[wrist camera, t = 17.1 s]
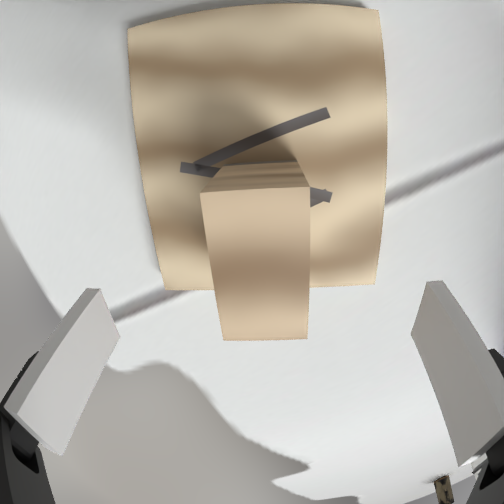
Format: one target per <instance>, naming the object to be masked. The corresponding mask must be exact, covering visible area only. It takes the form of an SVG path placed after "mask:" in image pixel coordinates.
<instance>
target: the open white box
mask: <svg viewBox="0 0 504 504" xmlns="http://www.w3.org/2000/svg"><path fill="white" fill-rule="evenodd" d="M485 459H487V455H486V453H484V454H483V455H482V456H481V457H480V458H479V459H477V460H476V461H474V462H471V465H472V468H473V470H474V469H475V468H476V467H477V466H478V465H479V464H480V463H482V462H483V461H484V460H485ZM480 471H481V469H480V470H478V471H477V472H476V473H474V475H475V478H476V480H477V478H478V476H479V475H478V473H479V472H480Z"/></svg>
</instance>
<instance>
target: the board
mask: <svg viewBox="0 0 504 504" xmlns="http://www.w3.org/2000/svg"><path fill="white" fill-rule="evenodd" d="M127 33H128V58H129V74H130V87H131V98H132V108H133V117H134V126H135V134H136V142H137V149H138V156H139V163H140V169H141V176H142V182H143V187H144V193H145V199H146V204H147V209H148V215H149V220H150V225H151V229H152V234H153V239H154V244H155V248H156V253H157V257H158V261H159V265H160V270H161V274H162V278H163V282H164V286H165V290H214V285H213V279H212V273H211V266H210V260H209V254H208V247H207V241H206V234H205V228H204V221H203V214H202V207H201V199H200V192H201V191H202V190H203V188H204V187H205V186H206V185H207V184H208V183H209V181H210V180H211V179H212V178H213V177H214V176H215V174H216V173H217V172H218V171H219V170H220V169H221V168H222V167H223V165H224V164H233V163H247V162H264V161H285V160H297V161H298V163H299V165H300V167H301V169H302V171H303V173H304V176H305V178H306V180H307V182H308V184H309V186H310V284H309V288H312V287H335V286H354V285H372V284H375V279H376V272H377V265H378V258H379V251H380V243H381V234H382V225H383V214H384V202H385V188H386V169H387V93H386V75H385V62H384V51H383V42H382V33H381V25H380V18H379V12H378V10H374V9H367V8H360V7H352V6H342V5H329V4H309V3H276V4H256V5H243V6H233V7H225V8H217V9H210V10H204V11H198V12H193V13H187V14H182V15H178V16H173V17H169V18H164V19H160V20H156V21H153V22H149V23H145V24H142V25H138V26H135V27H132V28H128V29H127Z"/></svg>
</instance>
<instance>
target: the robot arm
mask: <svg viewBox="0 0 504 504" xmlns="http://www.w3.org/2000/svg"><path fill="white" fill-rule="evenodd" d="M411 336H412V338H413V340H414V342H415V345H416V347H417V349H418V352H419V354H420V356H421V359H422V361H423V364H424V366H425V368H426V371H427V373H428V376H429V378H430V381H431V384H432V386H433V389H434V392H435V394H436V397H437V400H438V403H439V405H440V408H441V411H442V414H443V417H444V420H445V423H446V426H447V429H448V432H449V435H450V439H451V442H452V445H453V449H454V452H455V456H456V459H457V463H458V467H461V466H464V465H467V464H469V463H471V462H474V461H476V460H477V459H479V458H480V457H481V456H482V455H483V454H484V453H486V455H487V459H485V460H484V461H483V462H482V463H480V464H479V465H478V466H477V467H476V468H475V469H474V470H473V472H472V473H473V474H474V473H476V472H477V471H478V470H480V469H481V471H480V472H479V473H478V475H479V476H478V478H477V481H476V483H475V485H474V488H473V490H472V492H471V494H470V497H469V499H468V501H467V503H466V504H504V357H502V356H501V355H500V354H499V353H498V352H497V351H496V350H495V349H491V350H488V349H487V347H486V346H485V344H484V342H483V341H482V339H481V337H480V336H479V334H478V332H477V331H476V329H475V328H474V326H473V325H472V323H471V321H470V320H469V318H468V317H467V315H466V314H465V312H464V311H463V309H462V308H461V306H460V305H459V303H458V302H457V300H456V299H455V298H454V296H453V295H452V293H451V292H450V290H449V289H448V288H447V286H446V285H445V284H444V282H443V281H430V282H427V283H426V286H425V290H424V294H423V297H422V301H421V304H420V307H419V310H418V314H417V317H416V320H415V323H414V326H413V329H412V332H411ZM119 339H120V335H119V333H118V330H117V328H116V326H115V324H114V321H113V319H112V317H111V314H110V312H109V309H108V307H107V304H106V302H105V299H104V297H103V294H102V292H101V289H92V288H87V289H86V290H85V291H84V292H83V294H82V295H81V296H80V297H79V299H78V300H77V301H76V302H75V304H74V305H73V306H72V307H71V309H70V310H69V311H68V313H67V314H66V315H65V316H64V318H63V319H62V321H61V322H60V323H59V325H58V326H57V327H56V328H55V330H54V331H53V333H52V334H51V335H50V337H49V338H48V340H47V341H46V342H45V344H44V345H43V347H42V348H41V349H40V351H38V352H37V353H35V354H34V355H33V356H32V357H31V358H29V359H28V361H27V362H26V364H25V365H24V367H23V368H22V371H20V373H19V374H18V376H17V377H18V378H16V379H15V380H14V382H13V384H12V385H11V387H10V388H9V390H8V392H7V393H6V395H5V396H4V398H3V400H2V401H1V403H0V504H55V501H54V498H53V495H52V491H51V488H50V485H49V481H48V478H47V474H46V470H45V466H44V462H43V458H42V454H41V451H40V449H39V447H38V446H37V445H38V443H39V442H40V443H41V444H42V445H43V446H44V447H45V448H46V449H48V450H49V451H52V452H54V453H56V454H58V455H60V456H63V454H64V451H65V449H66V446H67V444H68V442H69V440H70V437H71V435H72V433H73V431H74V429H75V426H76V424H77V422H78V420H79V417H80V415H81V413H82V411H83V409H84V407H85V405H86V403H87V401H88V399H89V396H90V395H91V393H92V391H93V388H94V386H95V384H96V382H97V380H98V378H99V376H100V375H101V373H102V370H103V369H104V367H105V365H106V363H107V361H108V359H109V357H110V355H111V353H112V352H113V350H114V348H115V346H116V344H117V342H118V340H119Z"/></svg>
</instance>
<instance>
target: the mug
mask: <svg viewBox="0 0 504 504" xmlns="http://www.w3.org/2000/svg"><path fill="white" fill-rule="evenodd" d="M434 485H435V489H436V493H437V497H438V502H439V504H452V503H453V502H454V499H453V494H452V489H451V484H450V479H449V476H444V477H442V478H440V479H438V480H436V481H435V482H434Z"/></svg>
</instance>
